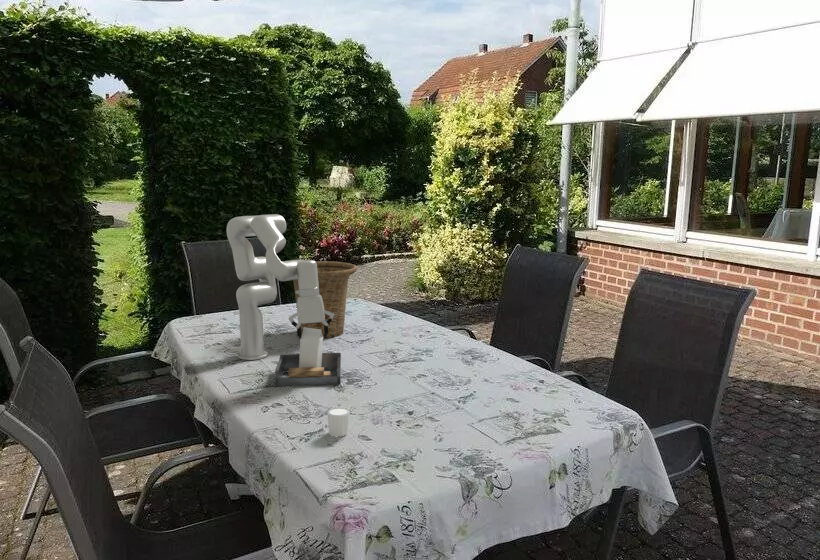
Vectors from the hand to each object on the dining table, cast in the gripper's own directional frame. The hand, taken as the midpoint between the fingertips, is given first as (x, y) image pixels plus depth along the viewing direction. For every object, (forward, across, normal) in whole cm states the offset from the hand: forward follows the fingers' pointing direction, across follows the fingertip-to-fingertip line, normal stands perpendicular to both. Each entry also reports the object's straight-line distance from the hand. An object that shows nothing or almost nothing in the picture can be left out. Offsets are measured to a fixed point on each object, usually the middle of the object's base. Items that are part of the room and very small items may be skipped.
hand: (313, 337), depth 239 cm
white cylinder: (+21, +10, -51) cm, 56 cm away
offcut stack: (+17, -3, -4) cm, 17 cm away
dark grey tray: (+16, -3, +1) cm, 16 cm away
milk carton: (+15, -3, +4) cm, 16 cm away
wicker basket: (+11, -2, +68) cm, 69 cm away
